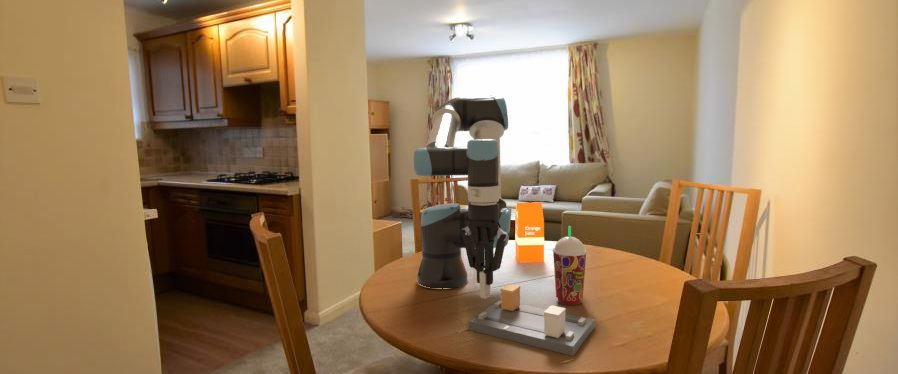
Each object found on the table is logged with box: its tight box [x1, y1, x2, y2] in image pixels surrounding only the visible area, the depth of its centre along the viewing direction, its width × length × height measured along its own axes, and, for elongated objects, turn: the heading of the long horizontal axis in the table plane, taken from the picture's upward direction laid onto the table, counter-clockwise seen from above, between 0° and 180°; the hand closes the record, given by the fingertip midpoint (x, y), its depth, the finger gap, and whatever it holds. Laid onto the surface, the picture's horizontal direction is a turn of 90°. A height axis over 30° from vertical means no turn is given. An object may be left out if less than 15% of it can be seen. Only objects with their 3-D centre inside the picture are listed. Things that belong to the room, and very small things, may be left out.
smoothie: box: [552, 225, 587, 306], centre depth 115 cm, size 8×8×20 cm
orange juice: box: [514, 201, 545, 263], centre depth 155 cm, size 8×9×20 cm
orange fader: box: [500, 283, 521, 311], centre depth 107 cm, size 3×4×5 cm
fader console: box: [468, 299, 596, 357], centre depth 100 cm, size 24×15×3 cm, turn 56°
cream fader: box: [544, 304, 567, 338], centre depth 93 cm, size 3×4×5 cm
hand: (485, 296), depth 111 cm, fingers closed
